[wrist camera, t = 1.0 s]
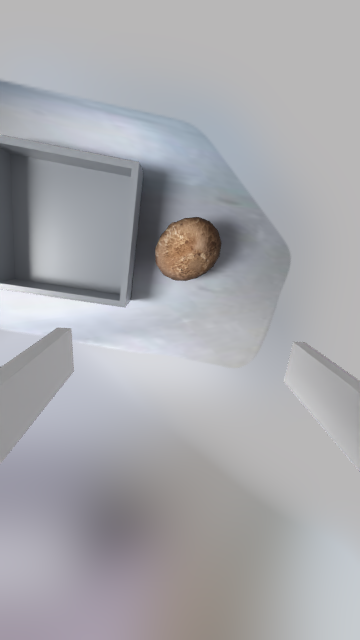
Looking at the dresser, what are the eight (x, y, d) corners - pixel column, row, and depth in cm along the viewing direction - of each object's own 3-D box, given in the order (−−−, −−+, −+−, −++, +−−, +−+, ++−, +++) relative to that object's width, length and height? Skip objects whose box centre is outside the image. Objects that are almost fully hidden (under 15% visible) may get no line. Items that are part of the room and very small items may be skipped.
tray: (12, 282, 31) (-10, 287, 27) (6, 147, 26) (-21, 130, 23) (130, 300, 32) (125, 307, 28) (143, 173, 28) (139, 162, 24)
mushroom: (151, 200, 26) (170, 227, 22) (213, 205, 29) (239, 230, 25) (144, 262, 31) (158, 293, 27) (196, 261, 34) (216, 288, 31)
